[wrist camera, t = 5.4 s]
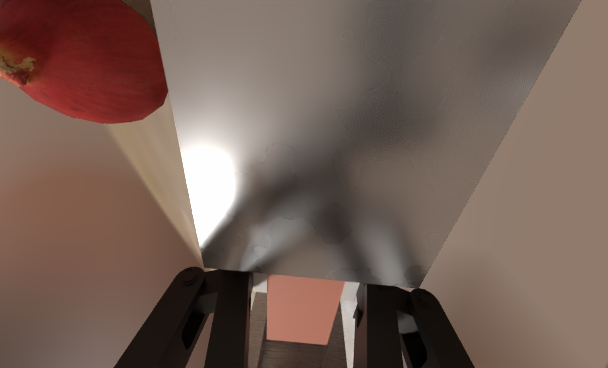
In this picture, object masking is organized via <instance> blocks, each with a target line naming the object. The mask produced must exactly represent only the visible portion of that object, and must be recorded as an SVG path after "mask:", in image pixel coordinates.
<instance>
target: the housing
mask: <svg viewBox="0 0 608 368" xmlns="http://www.w3.org/2000/svg"><path fill="white" fill-rule="evenodd" d="M150 2H151V7H152V12H153V17H154V22H155V27H156V32H157V37H158V42H159V47H160V52H161V57H162V62H163V67H164V71H165V76H166V81H167V86H168V91H169V96H170V101H171V106H172V111H173V116H174V121H175V126H176V131H177V136H178V141H179V146H180V151H181V156H182V161H183V165H184V170H185V175H186V180H187V185H188V190H189V195H190V200H191V205H192V210H193V215H194V220H195V225H196V230H197V235H198V240H199V245H200V250H201V254H202V259H203V264H204V268H213V269H223V270H233V271H244V272H254V273H264V274H275V275H285V276H295V277H305V278H316V279H326V280H336V281H347V282H357V283H367V284H377V285H388V286H398V287H409V288H419V286H420V285H421V283H422V281H423V279H424V278H425V276H426V274H427V272H428V271H429V269H430V267H431V265H432V264H433V261H434V260H435V258H436V256H437V255H438V253H439V251H440V249H441V248H442V246H443V244H444V242H445V241H446V239H447V237H448V235H449V234H450V232H451V230H452V228H453V226H454V225H455V222H456V221H457V219H458V218H459V216H460V214H461V212H462V211H463V208H464V207H465V205H466V203H467V202H468V200H469V198H470V196H471V195H472V193H473V191H474V189H475V188H476V186H477V184H478V182H479V180H480V179H481V177H482V175H483V173H484V171H485V170H486V168H487V166H488V165H489V163H490V161H491V159H492V158H493V156H494V154H495V152H496V150H497V148H498V147H499V145H500V143H501V142H502V140H503V138H504V136H505V135H506V133H507V131H508V129H509V127H510V126H511V124H512V122H513V120H514V119H515V117H516V115H517V113H518V112H519V110H520V108H521V106H522V104H523V102H524V101H525V99H526V97H527V96H528V94H529V92H530V90H531V89H532V87H533V85H534V83H535V82H536V80H537V78H538V76H539V74H540V73H541V71H542V69H543V67H544V65H545V64H546V62H547V60H548V59H549V57H550V55H551V53H552V52H553V50H554V48H555V46H556V44H557V43H558V41H559V39H560V37H561V36H562V34H563V32H564V30H565V28H566V27H567V25H568V23H569V21H570V20H571V18H572V16H573V14H574V13H575V11H576V9H577V7H578V6H579V4H580V2H581V0H150Z"/></svg>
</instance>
